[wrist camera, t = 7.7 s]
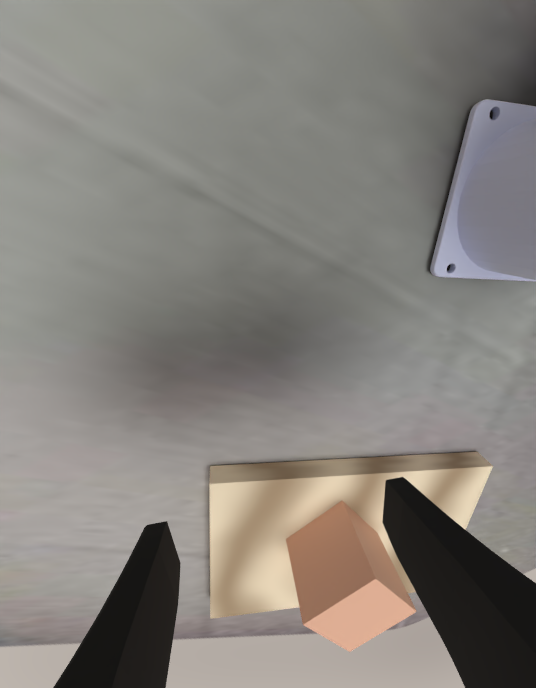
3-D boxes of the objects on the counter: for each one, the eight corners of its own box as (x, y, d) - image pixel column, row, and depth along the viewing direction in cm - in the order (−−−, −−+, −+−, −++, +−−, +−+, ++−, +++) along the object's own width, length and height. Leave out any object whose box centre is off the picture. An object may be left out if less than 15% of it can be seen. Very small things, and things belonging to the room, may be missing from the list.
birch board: (477, 451, 23) (493, 466, 22) (429, 570, 28) (439, 588, 27) (210, 466, 20) (209, 483, 19) (211, 597, 25) (210, 618, 24)
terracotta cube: (342, 500, 21) (375, 578, 16) (377, 533, 23) (416, 611, 18) (285, 539, 22) (303, 624, 17) (324, 567, 24) (349, 651, 19)
